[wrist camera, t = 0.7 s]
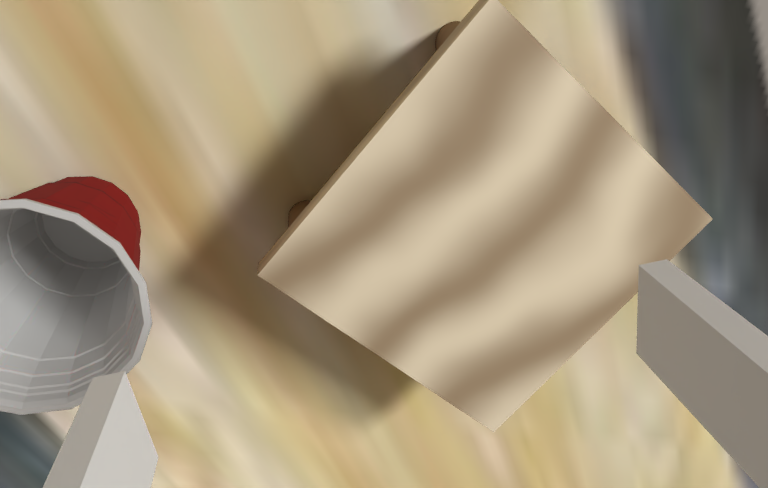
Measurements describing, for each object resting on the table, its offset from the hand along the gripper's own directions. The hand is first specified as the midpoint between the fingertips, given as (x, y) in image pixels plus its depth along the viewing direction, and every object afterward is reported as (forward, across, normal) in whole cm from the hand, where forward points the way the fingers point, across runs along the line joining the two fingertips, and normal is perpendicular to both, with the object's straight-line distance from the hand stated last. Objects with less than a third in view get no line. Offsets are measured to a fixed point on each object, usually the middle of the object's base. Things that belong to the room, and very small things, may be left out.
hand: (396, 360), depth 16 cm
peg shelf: (+24, +8, -6) cm, 26 cm away
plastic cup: (+25, -15, -3) cm, 29 cm away
